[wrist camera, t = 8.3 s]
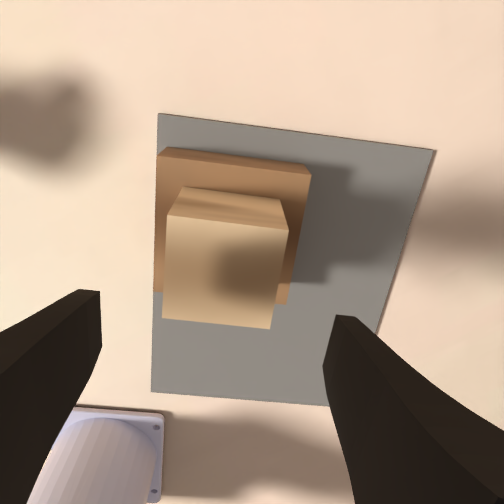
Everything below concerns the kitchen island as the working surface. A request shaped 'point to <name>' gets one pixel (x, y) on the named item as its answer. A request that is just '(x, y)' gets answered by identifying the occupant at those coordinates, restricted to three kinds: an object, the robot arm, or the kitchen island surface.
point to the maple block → (223, 258)
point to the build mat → (296, 263)
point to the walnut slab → (232, 181)
